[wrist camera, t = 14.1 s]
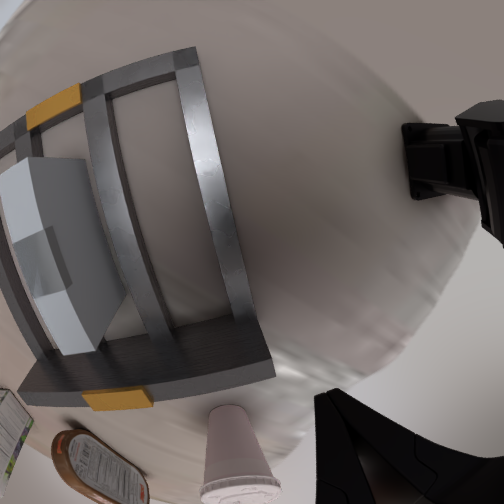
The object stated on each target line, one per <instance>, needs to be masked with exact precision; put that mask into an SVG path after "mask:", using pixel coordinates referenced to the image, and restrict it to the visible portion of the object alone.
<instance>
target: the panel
mask: <svg viewBox="0 0 504 504" xmlns="http://www.w3.org/2000/svg"><path fill="white" fill-rule="evenodd" d="M0 195H1V200H2V205H3V209H4V214H5V218H6V222H7V225H8V229H9V233H10V236H11V240H12V243H13V244H12V245H13V248H14V251H15V254H16V257H17V260H18V263H19V266H20V268H21V271H22V274H23V276H24V279H25V281H26V284H27V286H28V289H29V291H30V293H31V296H32V298H33V299H34V301H35V303H36V305H37V307H38V309H39V312H40V314H41V316H42V318H43V320H44V322H45V324H46V326H47V328H48V329H49V331H50V333H51V335H52V337H53V339H54V340H55V342H56V344H57V346H58V347H59V349H60V351H61V353H62V354H63V355H70V354H77V353H84V352H91V351H96V349H97V347H98V345H99V343H100V341H101V339H102V337H103V335H104V334H105V332H106V330H107V328H108V326H109V324H110V322H111V321H112V319H113V317H114V315H115V313H116V311H117V310H118V308H119V306H120V304H121V303H122V301H123V299H124V297H125V296H126V293H125V290H124V288H123V285H122V283H121V280H120V277H119V275H118V272H117V269H116V267H115V264H114V261H113V258H112V256H111V253H110V250H109V247H108V244H107V241H106V238H105V234H104V231H103V228H102V225H101V221H100V218H99V215H98V211H97V207H96V204H95V200H94V196H93V192H92V188H91V184H90V180H89V176H88V171H87V166H86V162H85V159H69V158H47V157H27V158H25V159H23V160H22V161H20V162H19V163H17V164H15V165H14V166H12V167H11V168H9V169H8V170H6V171H5V172H3V173H2V174H1V175H0Z"/></svg>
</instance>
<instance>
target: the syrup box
mask: <svg viewBox="0 0 504 504" xmlns="http://www.w3.org/2000/svg"><path fill="white" fill-rule="evenodd" d="M32 424H33V419H32V418H31V417H30V416H29V414H28V413H27V412H26V411H25V409H24V408H23V407H22V406H21V404H20V403H19V402H18V401H17V399H16V398H15V397H14V395H13V394H12V393H11V391H10V390H4V389H0V498H3V496H4V493H5V490H6V486H7V484H8V480H9V478H10V475H11V472H12V470H13V467H14V465H15V462H16V460H17V457H18V455H19V452H20V450H21V448H22V445H23V443H24V441H25V439H26V437H27V435H28V432H29V430H30V428H31V426H32Z"/></svg>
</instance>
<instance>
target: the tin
mask: <svg viewBox="0 0 504 504" xmlns="http://www.w3.org/2000/svg"><path fill="white" fill-rule="evenodd" d="M51 455H52V460H53V463H54V466H55V468H56V470H57V472H58V474H59V475H60V477H61V478H62V479H63V480H64V482H65V483H66V484H67V485H68V486H70V487H71V488H73V489H74V490H76V491H77V492H79V493H81V494H83V495H84V496H86V497H87V498H89V499H91V500H93V501H94V502H96V503H98V504H149V501H150V496H149V488H148V484H147V482H146V480H145V478H144V476H143V475H142V473H141V472H140V471H139V470H138V469H137V468H136V467H135V466H134V465H133V464H131V463H130V462H129V461H127V460H126V459H124V458H123V457H122V456H120V455H119V454H118V453H116V452H115V451H114V450H112V449H111V448H110V447H108V446H107V445H106V444H105V443H103V442H102V441H101V440H100V439H98V438H97V437H96V436H95V435H93V434H92V433H90V432H88V431H86V430H81V429H75V430H65V431H62V432H60V433H58V434H57V435H56V436H55V438H54V439H53V442H52V446H51Z"/></svg>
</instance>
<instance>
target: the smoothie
mask: <svg viewBox="0 0 504 504" xmlns="http://www.w3.org/2000/svg"><path fill="white" fill-rule="evenodd" d="M280 484H281V483H280V481H279V480H278V479H276V478H275V477H273V475H272V472H271V470H270V468H269V465H268V463H267V461H266V459H265V457H264V454H263V452H262V450H261V447H260V445H259V443H258V440H257V438H256V436H255V433H254V431H253V428H252V426H251V423H250V421H249V419H248V416H247V414H246V411H245V410H244V409H243V408H241V407H239V406H236V405H223V406H219V407H217V408H215V409H213V410H212V411H211V412H210V414H209V423H208V434H207V446H206V459H205V471H204V485H203V486H201V488H200V490H199V491H200V495H201V501H202V502H203V503H204V504H266V503H269V502H271V501H273V500H275V499H276V498H278V497H279V496H280V495H281V493H282V489H281V486H280Z"/></svg>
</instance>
